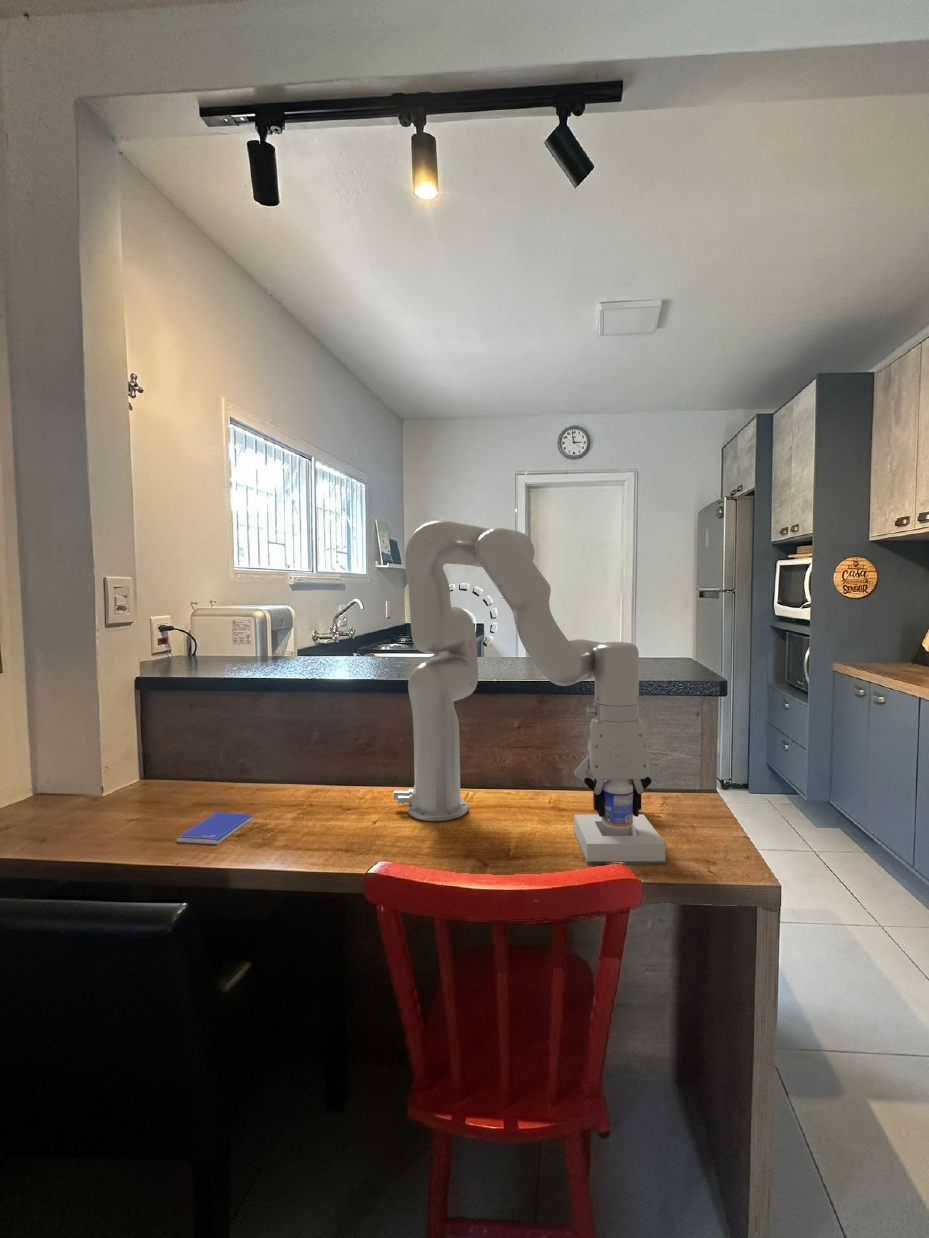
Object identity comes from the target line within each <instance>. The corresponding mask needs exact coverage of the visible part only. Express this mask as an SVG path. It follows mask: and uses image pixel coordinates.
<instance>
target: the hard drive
mask: <svg viewBox="0 0 929 1238" xmlns="http://www.w3.org/2000/svg"><path fill="white" fill-rule="evenodd" d="M251 820H253V817H252V814H248V813H247V814H246V813H231V812H215V813H213V814H212V815H210V816H208V817H207V818H205V819H204V820H202V821H201V822H199V823H197V824H195V825H194V826H193V827H191V828H189V829H187V831H185V832H183V833H181V834H180V835H178V836H177V838H176V839H177V841H176V842H177V843H188V844H189V843H193V844H205V845H206V844H209V845H219V844H220V843H221V842H223V841H224V840H226V839H227V838H228V837H229V836H231V835H232V834H233V833H235V832H236V831H238V830H239V829H240V828H242V827H243V826H245V825H246V824H247V823H249V822H250V821H251Z"/></svg>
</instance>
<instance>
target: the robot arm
mask: <svg viewBox="0 0 929 1238" xmlns="http://www.w3.org/2000/svg"><path fill="white" fill-rule="evenodd" d="M534 559H535V547H534V544H533V542H532V541H531V539H530V538H529V536H528V535H527V534H525V533H523V532H521V531H518V530H514V529H509V528H502V527H501V528H500V527H494V528H491V527H485V526H484V527H483V526H477V525H471V524H467V523H459V522H456V521H455V522H454V521H450V520H449V521H448V520H433V521H430V522H427V523H424V524H422V525H421V526H420V527H418V528H417V529H416V530H415V531H414V532H413V533H412V535H411V536H410V538H409V539H408V541H407V544H406V548H405V553H404V564H405V566H404V567H405V572H406V579H407V580H406V581H407V585H408V588H407V589H408V603H409V618H410V631H411V638H412V639H411V640H412V643H413V645H414V647H415V648H416V649H417V650H418V651H419V652H422V653H425V654H438V658H437V659H436V658H435V659H431V660H426V661H425V662H422V663H420V664H419V665H417V666H416V667H415V668H414V669H413V670H412V671H411V673H410V674H409V678H408V681H407V682H408V683H407V688H408V689H407V691H408V696H409V701H410V706H411V712H412V724H413V725H412V728H413V729H412V730H413V731H412V732H413V734H412V735H413V764H414V765H413V767H414V768H413V769H414V770H413V771H414V785H413V788H410V789H408V790H393V801H397V803H398V804H405V803H408V804H407V814H409V816H411V817H412V818H414V819H417V820H420V821H426V822H428V821H429V822H443V821H445V822H446V821H451V820H454V819H458V818H460V817H462V816H464V815H466V814H467V812H468V809H469V808H468V807H469V805H468V802H467V801H466V800H465V799H463V798H461V762H460V761H461V759H460V758H461V757H460V756H461V754H460V753H461V751H460V748H461V746H460V723H459V722H460V721H459V717H458V715H457V711H456V709H455V704H454V702H455V701H459V700H463V699H466V698H468V697H469V696H470V695H472V694H473V693H474V692H475V690H476V688H477V685H478V682H479V661H478V649H477V645H478V644H477V633H476V627H475V623H474V621H473V619H472V617H471V616H470V614H469V613H468V612H467V611H466V610H465V609H463V608H460V607H457V606H452V603H451V589H450V588H451V587H450V583H449V580H448V577H447V575H446V573H445V570H444V566H445V565H446V564H447V565H449V564H450V565H462V566H473V567H479V568H482V569H483V570H484V571H485V573H486V574H487V576H488V577H489V579H490V580H491V582H492V584H493V585H494V586H495V587H496V589H497V590H498V592H499V593H500V595H501V596H502V597H503V600H504V601H505V603H506V604H507V605H508V606H509V609H510V610H511V612H512V613H513V620H514V624H515V627H516V631H517V633H518V637H519V639H520V640H519V641H521V644H522V646H523V648H524V649H525V651H526V652H527V654H528V656H529V657H530V659H531V660H532V661H533V663H534V664H535V666H536V667H537V669H538V670H539V671H540V673H541V674H542V675H543V676H544V677H545V679H547V680H548V681H549V682H551V683H552V684H554V685H557V686H562V687H567V686H572V685H575V684H577V683H580V682H582V681H586V680H590V679H594V701H593V704H592V705H590V706H586V714H587V715H591V716H593V717H594V718H592V719H591V721H590V726H589V729H588V732H589V733H588V740H587V753H586V757H585V758H584V759H583V760H582V761H581V762H580V763H579V764H578V766H577V767H576V768H575V769H574V771H573V773H574V776H576V777H577V778H578V779H579V780H580V781H581V782H583V783H584V784H585V785H586V786H587V787H588V788H589V789H590V790H591V791H592V795H593V797H592V801H593V811H596V812H597V813H596V814H597V815H599V817H603V816H604V795H603V793H602V787H603V784H604V781H605V780H631V782H632V785H633V815H634V816H635V817H638V816H639V813H640V812H639V811H642V794H643V793H644V792H645V790H646V789H647V788H648V787H649V786H650V785H651V784H652V782H653V781H655V780H656V779H657V778H658V777H659V776H660V775H661V771H660V770H659V769H658V767H657V766H656V765H655V764H654V763H653V761H651V760H650V759H649V756H650V755H649V748H648V747H649V746H648V738H647V732H646V726H645V721H644V720H642V719H640V702H639V701H640V675H639V674H640V670H639V669H640V665H639V664H640V663H639V661H640V659H639V658H640V657H639V656H640V655H639V649H638V647H637V645H636V644H634V643H631V642H625V641H609V642H608V641H607V642H606V641H605V642H600V641H594V640H589V639H582V638H581V639H571V640H568V638H567V637H566V636H565V634H564V633H563V631H562V629H561V628H560V627H559V625H558V624H557V622H556V620H555V619H554V616H553V614H552V611H551V609H550V608H551V607H550V597H551V592H552V589H551V585H550V584H549V582H548V581H547V579H546V578H545V577H544V575H543V574H542V572H541V571H540V570H539V569H538V567H537V566H536V564H535V563H534ZM586 771H589V773H590V776H591V777H593V779H592V778H591V777H590V776H589V775H587V774H586Z"/></svg>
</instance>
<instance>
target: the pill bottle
mask: <svg viewBox="0 0 929 1238" xmlns="http://www.w3.org/2000/svg"><path fill="white" fill-rule="evenodd" d="M602 793H603V795H604V816H603V817H602V823H603V824H604V825H605V826H607V827H609V828H613V829H627V828H630V827H631V826H632V825H633V785H632V783H631V782H629V781H628V780H605V781H604V784H603V787H602Z"/></svg>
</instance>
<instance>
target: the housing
mask: <svg viewBox="0 0 929 1238" xmlns="http://www.w3.org/2000/svg"><path fill="white" fill-rule="evenodd" d="M573 834H574V836H575V838H576V841H577V843H578V846H579V849H580V851H581V853H582V855H583V858H584V859H585V863H586V865H609V864H608V863H612V862H623V863H625V864H624V865H665V864H666V843H665V841H664V840H663V838H662V837H661V835H660V834H659V833H658V832H657V830H656V829H655V828H654V826H653V825H652V823H651V822H650V821H649V820H648V819H647V817H646V816H645V814H644V813H643V814H639V816H638V817H635V816H634V815H633V825H632V826H631V827H630V828H627V829H613V828H609V827H607V826H605V825H604V824H603V823H602V817H599V815H598V814H574V815H573Z"/></svg>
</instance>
